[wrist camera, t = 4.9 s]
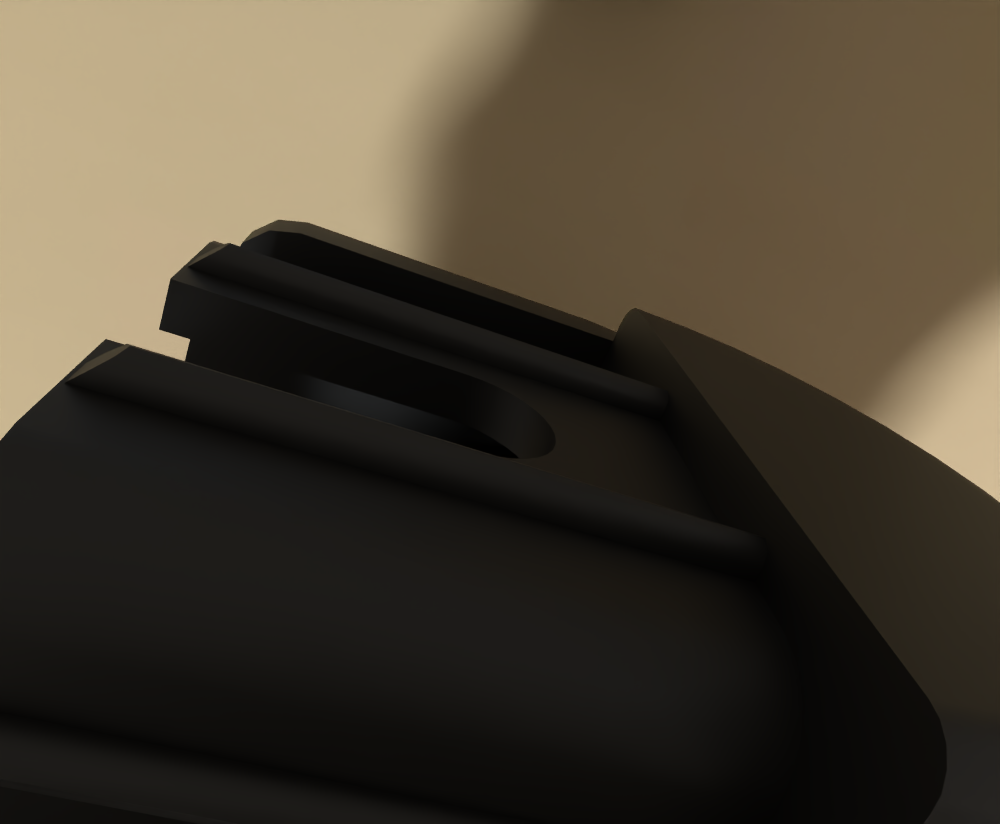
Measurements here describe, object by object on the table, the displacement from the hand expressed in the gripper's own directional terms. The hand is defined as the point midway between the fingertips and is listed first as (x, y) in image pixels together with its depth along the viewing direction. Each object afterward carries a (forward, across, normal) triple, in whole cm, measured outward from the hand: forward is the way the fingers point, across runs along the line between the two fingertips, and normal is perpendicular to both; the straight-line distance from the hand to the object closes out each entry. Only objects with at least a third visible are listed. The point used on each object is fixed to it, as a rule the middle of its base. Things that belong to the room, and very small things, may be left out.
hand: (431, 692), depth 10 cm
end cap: (+2, 0, 0) cm, 2 cm away
